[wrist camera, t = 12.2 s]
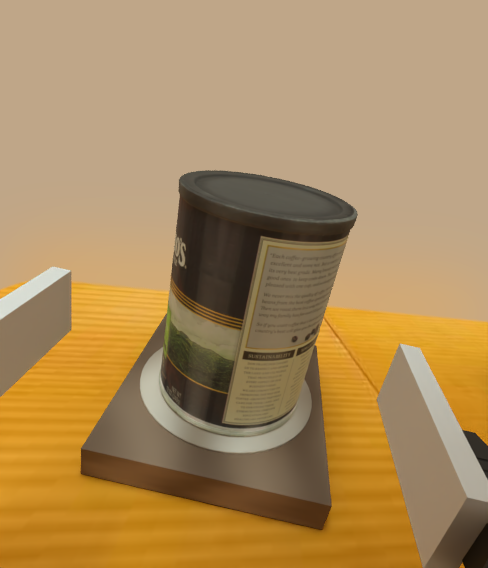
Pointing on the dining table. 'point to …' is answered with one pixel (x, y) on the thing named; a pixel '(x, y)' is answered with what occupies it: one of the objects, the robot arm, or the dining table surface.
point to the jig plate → (212, 450)
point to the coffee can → (247, 297)
